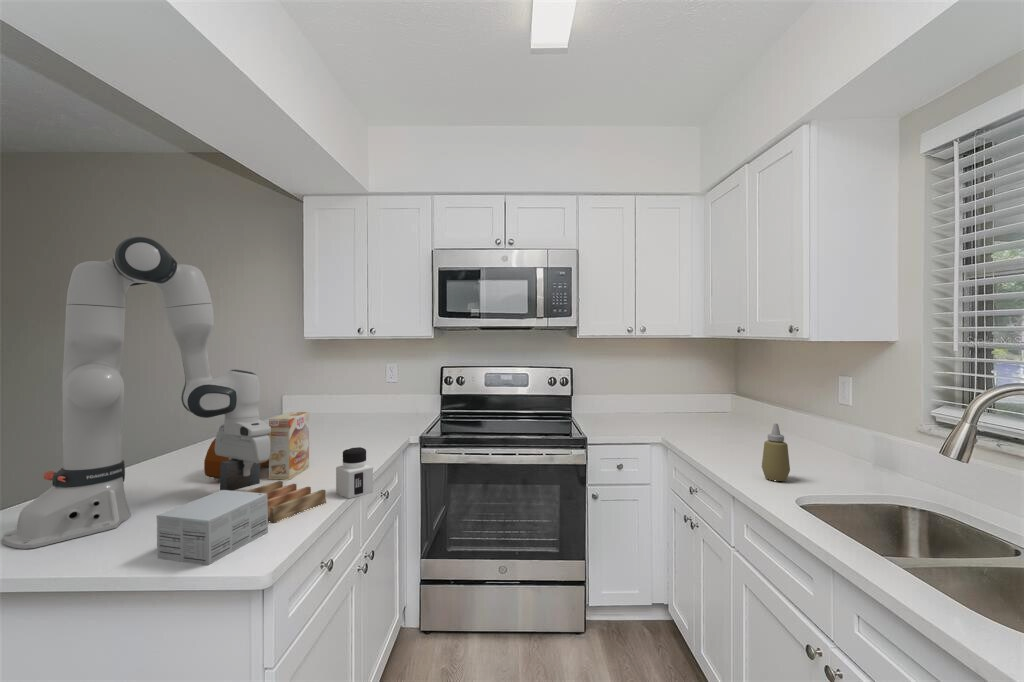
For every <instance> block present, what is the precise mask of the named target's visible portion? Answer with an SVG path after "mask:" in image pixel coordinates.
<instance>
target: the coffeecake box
mask: <svg viewBox="0 0 1024 682" xmlns="http://www.w3.org/2000/svg"><path fill="white" fill-rule="evenodd" d="M268 425H269V426H270V427H271V433H270V434H269V437H270V457H269V468H268V480H276V479H290V480H291V479H292V478H294V476H295V477H296V476H298V475H299V474H300V473H302V472H304V471H305V469H306V468H307V469H309V468H310V412H309V411H289V412H287V413H283V414H281V415H277V416H274V417H272V418H269V419H268ZM308 467H309V468H308ZM307 469H306V470H307ZM297 474H298V475H297Z"/></svg>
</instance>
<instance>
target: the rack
mask: <svg viewBox="0 0 1024 682" xmlns="http://www.w3.org/2000/svg"><path fill="white" fill-rule="evenodd" d="M311 491H312V487H311V486H305V487H303V488H299V489H297V483H292V484H291V483H290V484H288V485H286V486H284V481H283V480H277V481H275V482H272V483H268V484H264V485H261V486H258V487H254V488H252V489H251V488H250V489H247V490H245V491H243V492H253V493H265V494H267V501H268V522H269V521H270V522H269V523H273V524H276V523H277V521H278V522H281V521H283V520H285V519H284V518H286V519H288V518H291V517H293V516H292V515H294V514H296V515H298V514H297V513H299V512H302V511H304V510H307V509H309V510H311V509H310V508H312V509H314V508H313V507H315V508H317V507H319V506H318V505H320V506H322V505H325V504H327V497H326V496H327V495H326V493H327V492H326V491H327V490H326V489H319V490H318V491H314V492H311ZM324 503H325V504H324ZM321 504H322V505H321ZM316 506H317V507H316ZM307 511H308V510H307ZM304 512H305V511H304ZM302 513H303V512H302ZM299 514H300V513H299ZM290 516H291V517H290ZM294 516H295V515H294ZM287 517H288V518H287ZM282 519H283V520H282ZM280 520H281V521H280Z"/></svg>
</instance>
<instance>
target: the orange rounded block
mask: <svg viewBox="0 0 1024 682" xmlns="http://www.w3.org/2000/svg"><path fill="white" fill-rule="evenodd" d="M267 435H268V436H269V434H267ZM215 440H216V437H215V438H214V439H213V440H212V441H211V444H210V445H209V447H208V448H207V451H206V455H205V457H204V460H203V461H204V464H203V466H204V467H203V470H204V475H205V476H207V477H209V478H213V479H214V480H216V479H220V467H221V462H222V461H227V460H229V458H228V457H223V456H218V455H216V454H215ZM263 467H265V468H266V469H267V468H268V469H269V459H268V461H266V462H262V463H260V469H262V468H263Z"/></svg>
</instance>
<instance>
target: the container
mask: <svg viewBox="0 0 1024 682" xmlns="http://www.w3.org/2000/svg"><path fill="white" fill-rule="evenodd" d="M335 489H336V490H335V492H336V494H338V495H340V496H342V497H345V498H347V499H354V498H357V497H360V496H361V497H362V496H365V495H369V494H372V493H373V492H374V467H373V466H372V465H369V464H367V450H366V449H365V448H364V447H361V446H354V447H348V448H346V449H344V450H343V451H342V465H338V466H336V467H335Z"/></svg>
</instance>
